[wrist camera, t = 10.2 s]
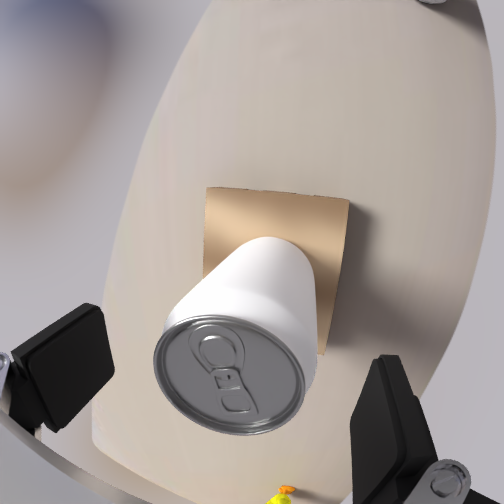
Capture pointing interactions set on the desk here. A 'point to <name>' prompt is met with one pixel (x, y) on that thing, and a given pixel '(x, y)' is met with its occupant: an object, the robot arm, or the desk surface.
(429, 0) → the energy drink can
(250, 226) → the dock
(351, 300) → the desk surface
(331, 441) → the desk surface
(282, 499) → the toy figure
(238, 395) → the can
